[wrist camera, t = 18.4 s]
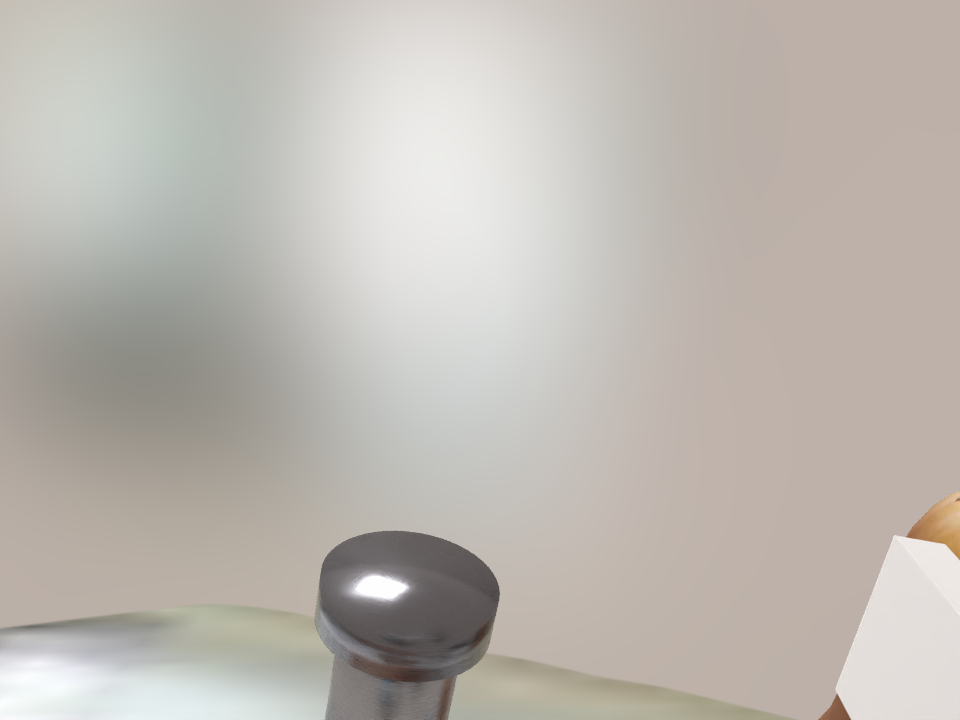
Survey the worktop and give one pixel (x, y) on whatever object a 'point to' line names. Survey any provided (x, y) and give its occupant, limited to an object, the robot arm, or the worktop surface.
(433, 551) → the metal plug
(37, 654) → the worktop surface
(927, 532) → the butternut squash
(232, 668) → the worktop surface
